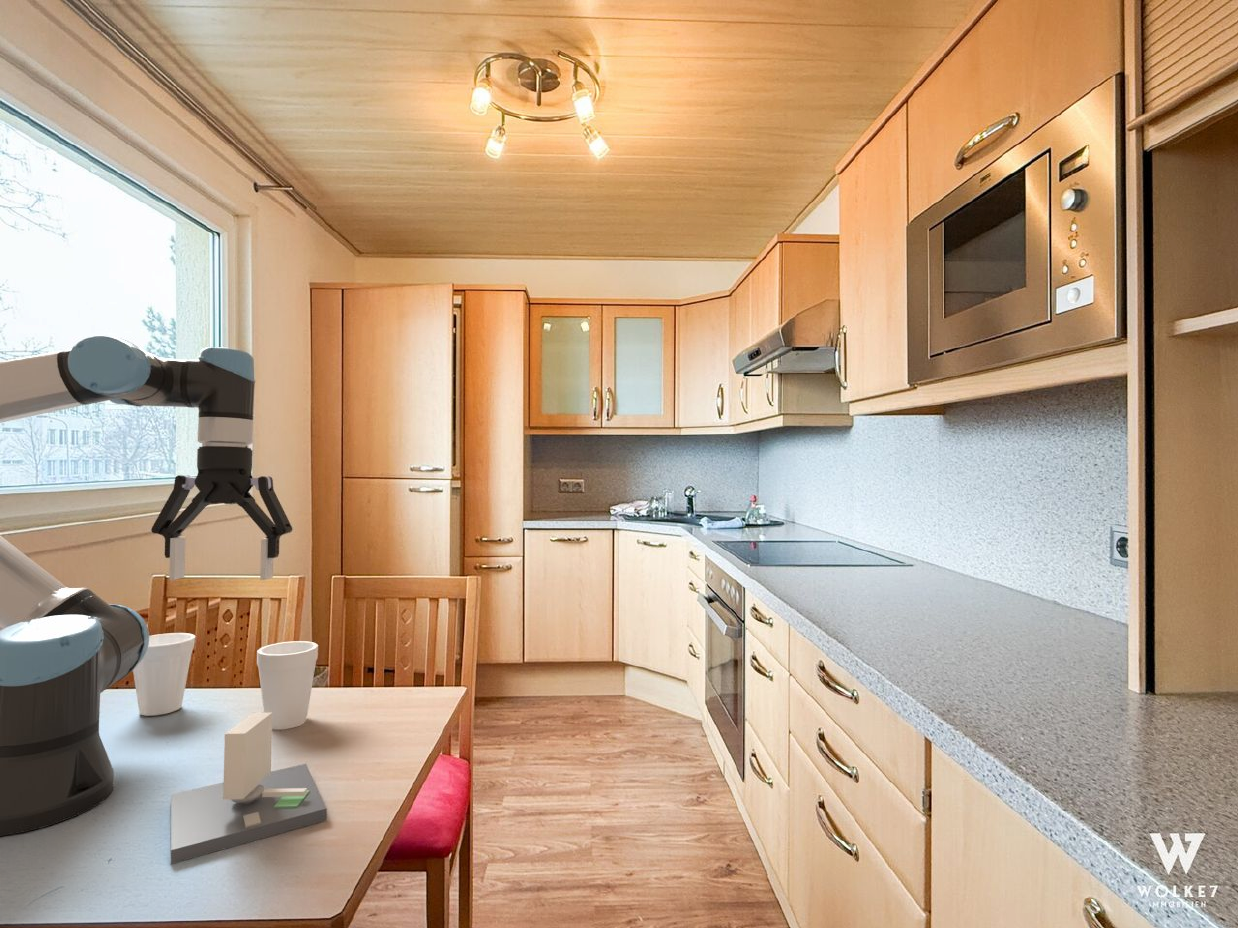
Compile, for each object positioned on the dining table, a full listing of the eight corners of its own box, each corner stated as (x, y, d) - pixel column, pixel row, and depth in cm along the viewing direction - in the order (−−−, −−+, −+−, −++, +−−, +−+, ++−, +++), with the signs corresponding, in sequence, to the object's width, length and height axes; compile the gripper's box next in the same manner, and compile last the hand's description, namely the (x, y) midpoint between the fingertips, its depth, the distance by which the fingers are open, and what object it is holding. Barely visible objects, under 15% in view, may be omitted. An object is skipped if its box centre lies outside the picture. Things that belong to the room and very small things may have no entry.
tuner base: (170, 863, 70) (171, 848, 70) (170, 805, 83) (171, 792, 83) (326, 820, 80) (326, 806, 80) (305, 773, 92) (306, 762, 92)
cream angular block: (293, 814, 78) (295, 732, 78) (217, 815, 77) (219, 733, 78) (316, 786, 85) (318, 711, 85) (247, 787, 84) (249, 712, 85)
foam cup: (290, 735, 105) (292, 657, 105) (242, 730, 107) (244, 653, 107) (327, 714, 114) (329, 642, 115) (282, 710, 116) (284, 639, 117)
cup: (168, 722, 110) (170, 647, 110) (111, 721, 110) (113, 646, 110) (206, 702, 120) (208, 633, 120) (154, 701, 120) (156, 632, 120)
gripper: (315, 448, 106) (312, 574, 106) (157, 445, 104) (154, 574, 103) (296, 446, 99) (293, 582, 98) (126, 443, 96) (122, 582, 96)
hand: (222, 578), depth 101 cm, fingers open, 13 cm apart
